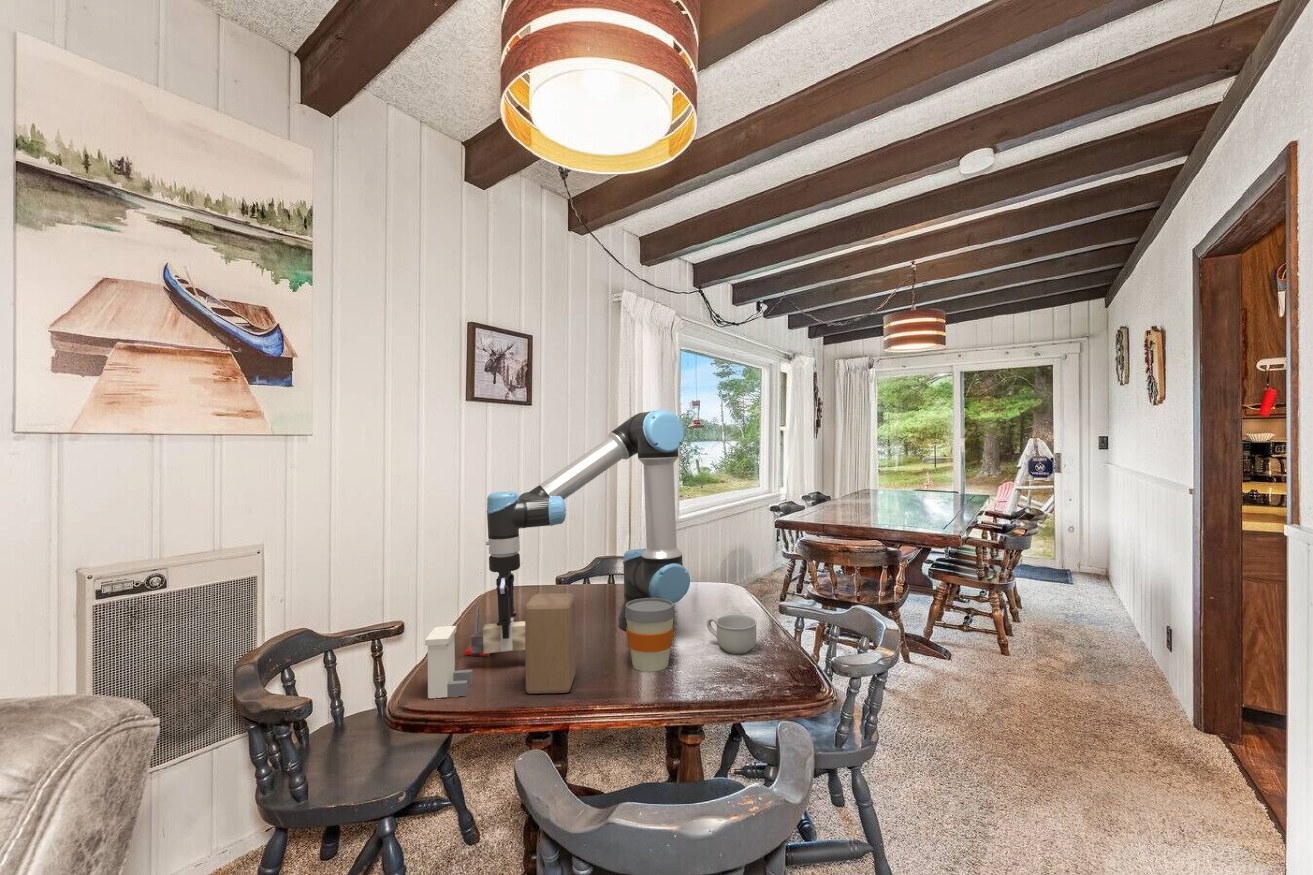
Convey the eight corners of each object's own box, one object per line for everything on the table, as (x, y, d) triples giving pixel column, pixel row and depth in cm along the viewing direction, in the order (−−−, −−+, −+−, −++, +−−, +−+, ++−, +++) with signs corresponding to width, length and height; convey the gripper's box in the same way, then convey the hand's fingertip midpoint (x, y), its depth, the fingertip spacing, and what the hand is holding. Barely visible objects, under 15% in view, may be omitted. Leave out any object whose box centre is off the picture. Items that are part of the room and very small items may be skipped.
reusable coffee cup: (618, 659, 144) (617, 601, 144) (663, 652, 149) (662, 595, 149) (636, 678, 132) (635, 614, 132) (684, 669, 137) (683, 607, 137)
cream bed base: (472, 681, 132) (472, 624, 132) (465, 697, 123) (465, 637, 123) (435, 683, 131) (435, 626, 131) (425, 700, 122) (425, 639, 122)
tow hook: (477, 645, 157) (460, 656, 148) (477, 598, 158) (461, 606, 148) (505, 646, 156) (490, 658, 146) (506, 599, 156) (491, 607, 147)
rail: (530, 644, 143) (529, 620, 143) (529, 649, 140) (528, 625, 140) (473, 648, 141) (472, 625, 141) (470, 654, 138) (470, 629, 138)
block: (575, 675, 134) (574, 592, 134) (570, 694, 124) (569, 603, 124) (533, 676, 134) (533, 592, 134) (524, 695, 124) (524, 604, 124)
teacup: (764, 649, 150) (764, 619, 150) (741, 661, 142) (741, 629, 142) (722, 637, 159) (722, 609, 159) (698, 647, 151) (698, 618, 152)
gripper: (493, 548, 148) (497, 636, 148) (483, 562, 132) (487, 661, 132) (522, 546, 149) (526, 634, 149) (516, 559, 133) (519, 658, 133)
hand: (507, 646), depth 141 cm, fingers closed on rail, 4 cm apart
